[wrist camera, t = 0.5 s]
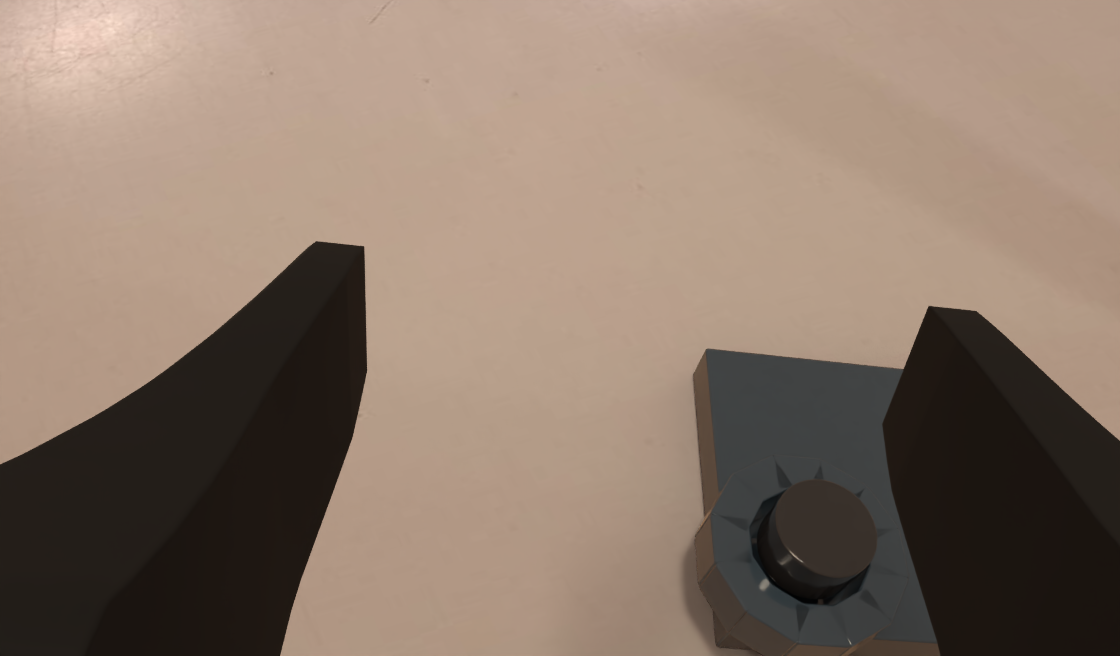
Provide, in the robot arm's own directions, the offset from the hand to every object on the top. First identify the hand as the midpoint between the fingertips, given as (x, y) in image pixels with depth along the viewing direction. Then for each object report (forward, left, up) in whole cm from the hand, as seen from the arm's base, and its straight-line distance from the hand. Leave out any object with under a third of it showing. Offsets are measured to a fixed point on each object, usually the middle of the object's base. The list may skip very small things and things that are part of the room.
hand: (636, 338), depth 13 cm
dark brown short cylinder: (+5, -9, -16) cm, 19 cm away
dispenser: (+8, -12, -19) cm, 24 cm away
